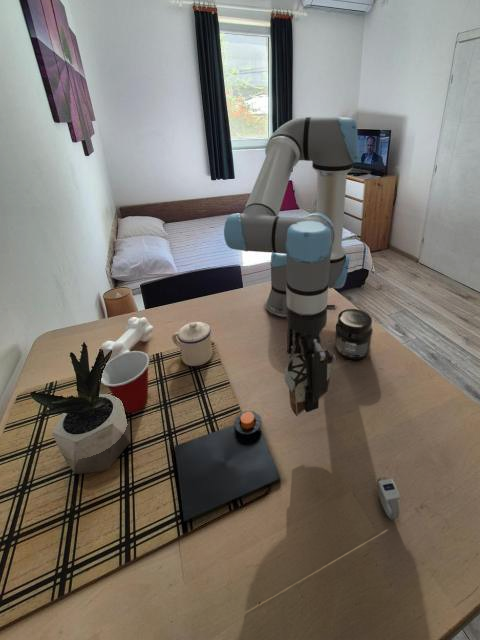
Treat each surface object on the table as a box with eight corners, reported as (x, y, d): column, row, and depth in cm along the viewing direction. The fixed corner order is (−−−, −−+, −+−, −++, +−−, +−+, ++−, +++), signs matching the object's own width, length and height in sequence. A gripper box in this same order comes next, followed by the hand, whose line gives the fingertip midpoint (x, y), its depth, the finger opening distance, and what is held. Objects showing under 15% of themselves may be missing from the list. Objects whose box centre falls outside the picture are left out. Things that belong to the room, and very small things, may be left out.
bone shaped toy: (128, 371, 89) (122, 348, 86) (100, 368, 91) (93, 344, 88) (157, 338, 103) (153, 316, 100) (132, 335, 104) (127, 313, 101)
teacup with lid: (218, 349, 98) (215, 316, 93) (203, 370, 90) (199, 335, 85) (183, 342, 101) (178, 310, 96) (166, 362, 93) (159, 328, 88)
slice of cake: (313, 372, 76) (315, 338, 72) (332, 388, 72) (336, 353, 68) (272, 401, 69) (271, 365, 64) (291, 420, 65) (292, 383, 60)
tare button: (252, 415, 73) (251, 409, 73) (256, 426, 71) (256, 420, 70) (239, 420, 72) (238, 414, 72) (243, 431, 70) (242, 425, 69)
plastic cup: (110, 394, 82) (99, 357, 77) (156, 381, 86) (148, 345, 81) (107, 429, 73) (95, 389, 68) (158, 413, 77) (150, 374, 72)
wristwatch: (401, 523, 56) (405, 506, 54) (386, 526, 56) (390, 509, 54) (385, 486, 62) (389, 469, 60) (372, 489, 62) (375, 472, 60)
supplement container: (358, 337, 104) (361, 305, 99) (376, 358, 94) (381, 324, 90) (328, 343, 100) (330, 311, 96) (344, 366, 91) (347, 332, 87)
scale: (256, 416, 76) (256, 407, 75) (282, 481, 63) (282, 471, 62) (174, 446, 70) (172, 436, 68) (184, 525, 56) (182, 514, 55)
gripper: (353, 329, 53) (343, 426, 63) (302, 279, 69) (300, 362, 79) (312, 341, 51) (308, 441, 60) (269, 285, 67) (272, 371, 76)
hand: (304, 396), depth 70 cm, fingers closed on slice of cake, 6 cm apart
